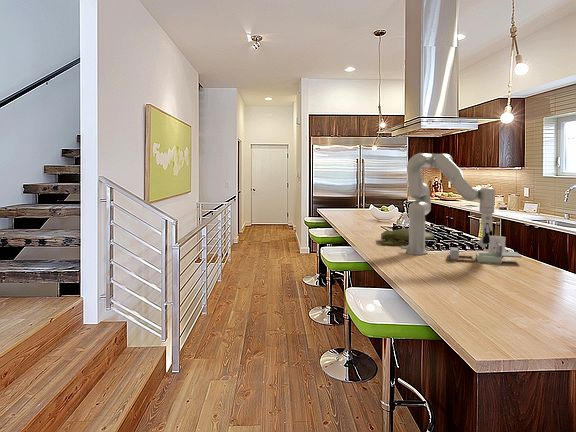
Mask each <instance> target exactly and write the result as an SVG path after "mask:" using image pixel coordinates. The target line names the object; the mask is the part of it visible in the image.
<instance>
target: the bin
mask: <svg viewBox="0 0 576 432" xmlns="http://www.w3.org/2000/svg"><path fill="white" fill-rule="evenodd" d="M502 258H503V257H498V256H497V255H496V254H495V253H488V252H479V251H478V252H477V251H476V252H475V261H476V262H477V263H481V264H501V265H502Z"/></svg>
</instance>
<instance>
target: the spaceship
mask: <svg viewBox="0 0 576 432" xmlns="http://www.w3.org/2000/svg"><path fill="white" fill-rule="evenodd" d="M380 235H381V236H380V239H381V240H384V241H382V242H381V245H382V246H385V247H386V246H387V247H390V246H391V247H401V246H408V245H409V242H403V241H409V228H408V227H407V228H399V229H395V230H385V231H383V232H382V233H381V234H380ZM434 238H435V236H434V234H432V232H430V231H427V230H425V241H427V240H432V239H434ZM401 241H402V242H401ZM425 247H427V244H426V243H425Z"/></svg>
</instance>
